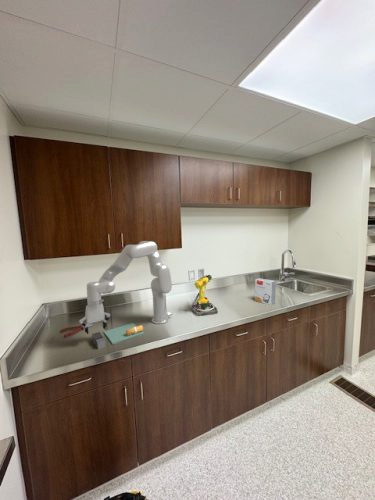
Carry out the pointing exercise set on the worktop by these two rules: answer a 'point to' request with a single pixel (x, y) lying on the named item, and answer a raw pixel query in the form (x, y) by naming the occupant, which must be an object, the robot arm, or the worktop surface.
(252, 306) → the worktop surface
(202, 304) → the yellow upright jointed figure
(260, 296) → the hard drive box
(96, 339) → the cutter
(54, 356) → the worktop surface
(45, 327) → the worktop surface
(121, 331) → the cutting mat
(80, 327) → the pliers
